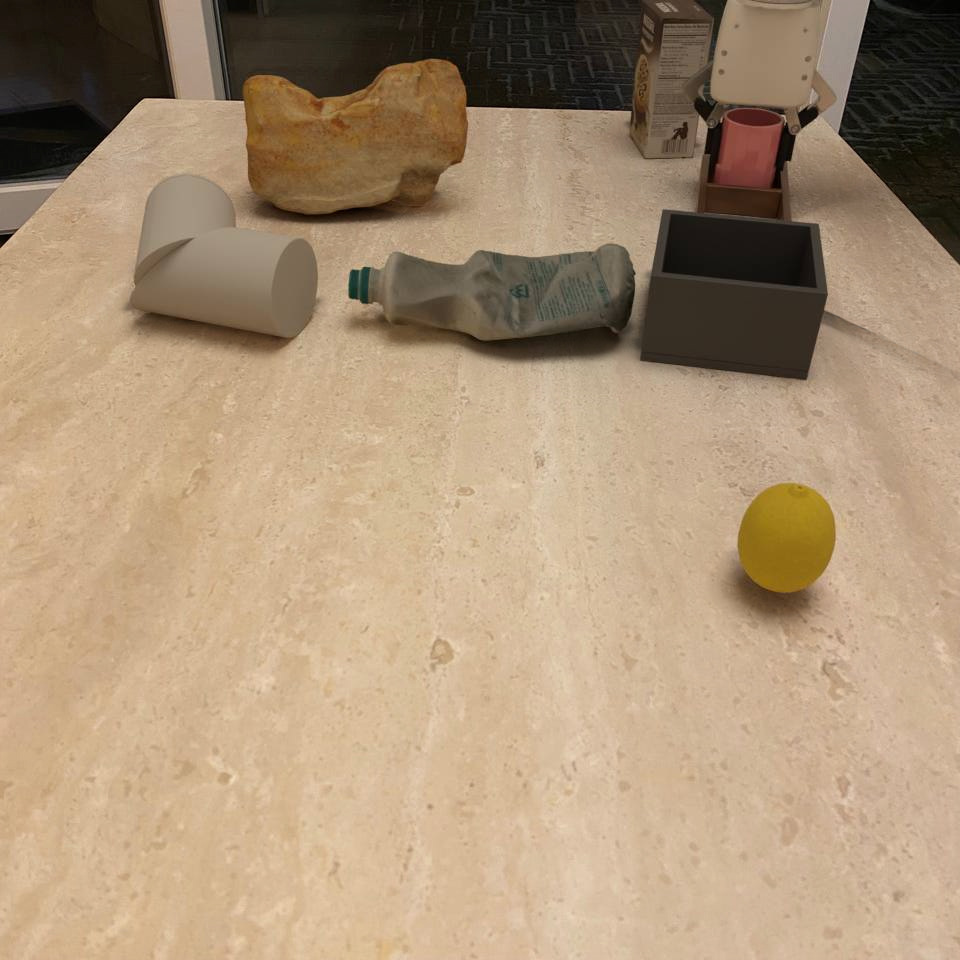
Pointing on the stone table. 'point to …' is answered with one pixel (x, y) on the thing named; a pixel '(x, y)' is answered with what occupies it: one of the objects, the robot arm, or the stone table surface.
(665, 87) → the coffee box
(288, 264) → the l-shaped cylinder
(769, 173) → the pink cup
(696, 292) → the dark gray open box
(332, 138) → the tan saddle-shaped rock
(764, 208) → the brown compartment tray
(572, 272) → the detergent
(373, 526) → the stone table surface
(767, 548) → the lemon
